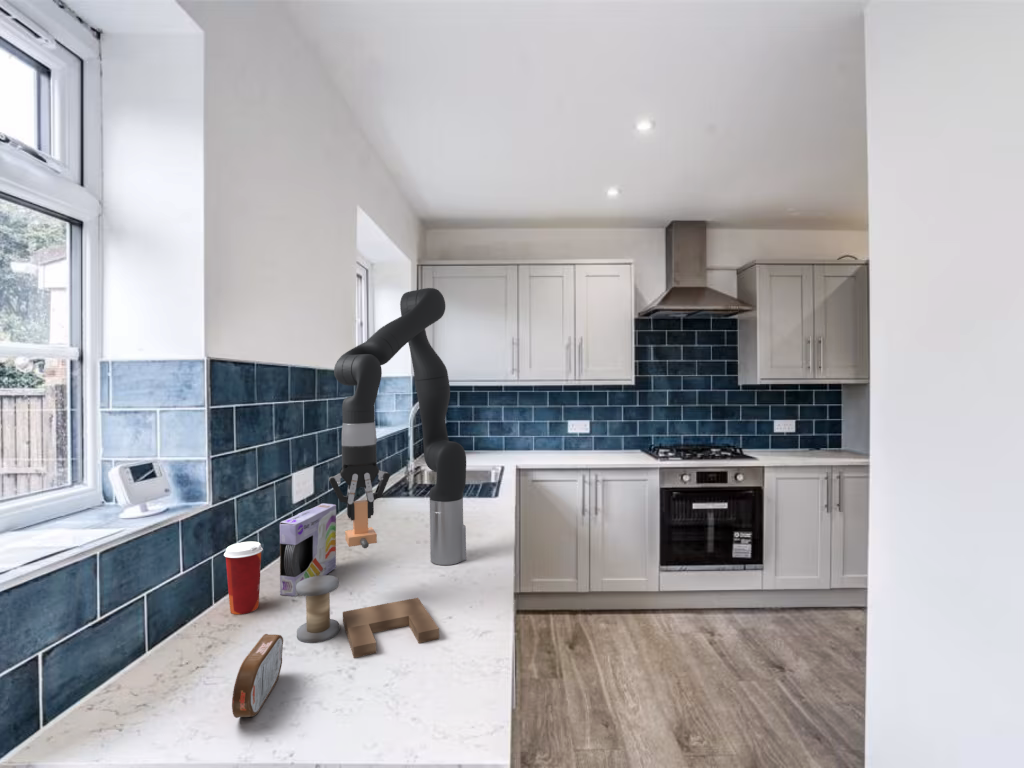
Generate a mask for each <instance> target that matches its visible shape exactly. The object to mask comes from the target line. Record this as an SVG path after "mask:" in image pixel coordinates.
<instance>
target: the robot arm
mask: <svg viewBox="0 0 1024 768" xmlns="http://www.w3.org/2000/svg"><path fill="white" fill-rule="evenodd" d="M444 297H445V296H444V295H443V293H442V292H441V291H440V290H439V289H437V288H434V287H425V288H421V289H415V290H410V291H406V292H404V293H403V294H402V295H401V299H400V303H399V305H400V313H401V314H400V315H401V316H399V317H398V318H396V319H393V320H392V321H390V322H388V323H386V324H384V325H383V326H381V327H380V328H379V329H377V330H376V332H374V333H373V334H372V335H371V336H370V337H369V338H367V339H366V341H364V342H362V343H360V344H358V345H356V346H355V347H353V348H351V349H349V350H348V351H346V352H345V353H343V354H341V356H340V357H338V359H337V360H336V362H335V364H334V370H333V372H334V373H333V374H334V377H335V379H336V381H337V382H338V383H340V384H342V385H344V386H348V387H349V386H356V390H355V391H354V394H353V395H351V396H348V397H345V398H344V399H343V401H342V407H341V408H342V409H341V410H342V411H341V412H342V428H341V469H340V470H339V472H338V473H337V474H336V475H333V476H329V477H328V481H329V483H330V485H331V487H332V489H333V491H334V493H335V495H336V497H337V499H338V500H339V502H340V503H346V515H347V518H348V519H349V520H350V521H351V522H353V520H355V509H354V503H353V501H355V495H356V489H359V488H364V491H365V496H366V500H367V501H368V519H372V516H374V513H375V512H374V511H375V510H374V505H375V504H374V503H375V500H378V499H381V498H382V496H383V494H384V491H385V490H386V487H387V484H388V482H389V479H390V477H391V474H390V473H389V472H387V471H382V470H380V468H379V466H378V461H377V457H378V455H377V441H378V438H377V429H376V423H375V422H376V419H375V418H376V417H375V416H376V413H375V412H376V411H375V405H376V399H377V395H378V392H379V388H380V384H381V380H382V374H383V373H382V372H383V371H382V366H384V365H386V364H387V363H388V362H389V361H391V360H392V358H394V357H395V355H396V354H397V353H399V351H400V350H401V349H402V348H403V347H404V346H406V345H407V343H408V348H409V352H410V357H411V363H412V370H413V376H414V378H413V379H414V383H415V391H416V395H417V400H418V408H419V415H420V420H421V421H420V422H421V425H422V426H421V428H422V442H423V457H424V461H425V464H426V466H427V467H428V469H430V471H432V472H435V473H436V480H435V481H436V483H435V485H434V486H433V487H431V488H430V489H429V534H430V535H429V540H430V541H429V542H430V543H429V544H430V545H429V546H430V553H429V555H430V556H429V557H430V562H431V563H432V564H435V565H439V566H449V565H455V564H459V563H461V562H464V561H467V534H466V533H467V528H466V525H465V524H464V491H465V488H466V484H467V455H466V451H465V448H464V446H462V444H460V443H458V442H456V441H450V439H449V436H448V430H447V422H446V421H447V420H446V418H447V412H448V407H449V403H450V399H451V387H450V380H449V374H448V373H449V372H448V369H447V367H446V364H445V363H444V361H443V360H442V359H441V357H440V356H439V355H438V353H437V352H436V351H435V350H434V348H433V346H432V345H431V343H430V341H429V339H428V335H427V332H426V329H427V328H428V327H430V326H431V325H433V324H434V323H437V322H438V321H440V319H442V317H443V316H444V314H445V311H446V301H445V298H444ZM377 476H378V478H377V479H378V480H379V482H378V484H377V486H376V489H375V491H374V492H373V486H372V483H373V482H374V480H376V477H377ZM341 479H343V480H344V482H345V483H346V484H347V494H346V495H344V494H343V491H342V489H341V488H340V486H339V485H340V484H341Z"/></svg>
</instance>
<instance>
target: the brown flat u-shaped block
mask: <svg viewBox="0 0 1024 768" xmlns="http://www.w3.org/2000/svg"><path fill="white" fill-rule="evenodd" d="M342 624H343V628H344V631H345V633H346V637H347V641H348V643H349V647H350V651H351V653H352V654H351V655H352V657H353V659H355V658H360V657H364V656H365V657H366V656H370V655H373V654H377V641H376V639H375V635H374V634H375V633H380V632H384V631H385V632H386V631H389V630H394V629H398V628H403V627H409V628H410V630H411V632H412V634H413V636H414V638H415V639H416V641H417V643H418V644H422V643H426V642H431V641H435V640H439V639H440V628H439V627H438V624H437V623H436V622H435V621H434V619H433V618H432V615H430V613H429V612H428V610H427V609H426V607H425V605H423V603H422V601H421V600H420V599H419V597H414V598H413V597H412V598H409V599H404V600H398V601H392V602H387V603H382V604H377V605H371V606H366V607H362V608H356V609H350V610H346V611H345V610H344V611H342Z"/></svg>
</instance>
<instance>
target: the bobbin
mask: <svg viewBox="0 0 1024 768" xmlns="http://www.w3.org/2000/svg"><path fill="white" fill-rule="evenodd" d="M339 586H340V580H339V578H338V577H337V576H336V575H335V576H334V575H328V574H327V575H321V576H314V577H310V578H306V579H304V580H301V581H300V582H298V583H297V585H296V592H297V594H299V595H300V596H303V597H304V596H305V609H306V610H305V614H306V617H305V621H306V622H305V623H303V624H301V625H300V626H299V627H298V628H297V629H296V639H297V640H298V641H299V642H302V643H307V644H314V643H315V644H316V643H321V642H325V641H327V640H331V639H332V638H334V637H335V636H337V635H338V634H339V632H340V630H341V629H340V622H339V621H338V620H337V619H333V618H331V607H330V606H331V605H330V604H331V602H330V598H331V597H330V593H333V592H334V591H336V590H337V589H338V588H339ZM299 595H298V596H299Z"/></svg>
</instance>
